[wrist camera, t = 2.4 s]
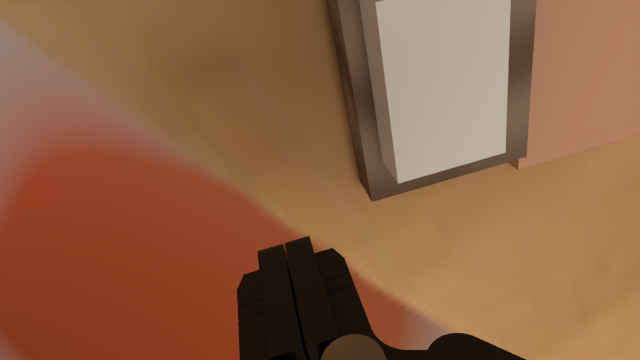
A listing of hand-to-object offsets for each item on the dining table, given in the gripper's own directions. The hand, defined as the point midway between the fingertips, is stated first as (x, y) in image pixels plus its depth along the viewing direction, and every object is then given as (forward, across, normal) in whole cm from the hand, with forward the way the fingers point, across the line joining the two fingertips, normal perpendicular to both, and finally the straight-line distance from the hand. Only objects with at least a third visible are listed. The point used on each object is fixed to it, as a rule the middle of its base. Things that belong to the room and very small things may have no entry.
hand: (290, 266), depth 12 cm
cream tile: (+11, -9, 0) cm, 14 cm away
